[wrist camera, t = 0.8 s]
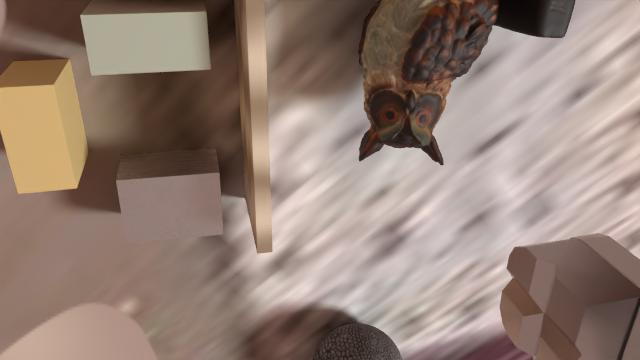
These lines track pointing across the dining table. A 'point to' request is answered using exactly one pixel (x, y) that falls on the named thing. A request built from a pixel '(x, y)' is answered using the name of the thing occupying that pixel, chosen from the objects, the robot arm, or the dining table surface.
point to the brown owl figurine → (434, 59)
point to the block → (170, 195)
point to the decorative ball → (357, 344)
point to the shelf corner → (254, 117)
